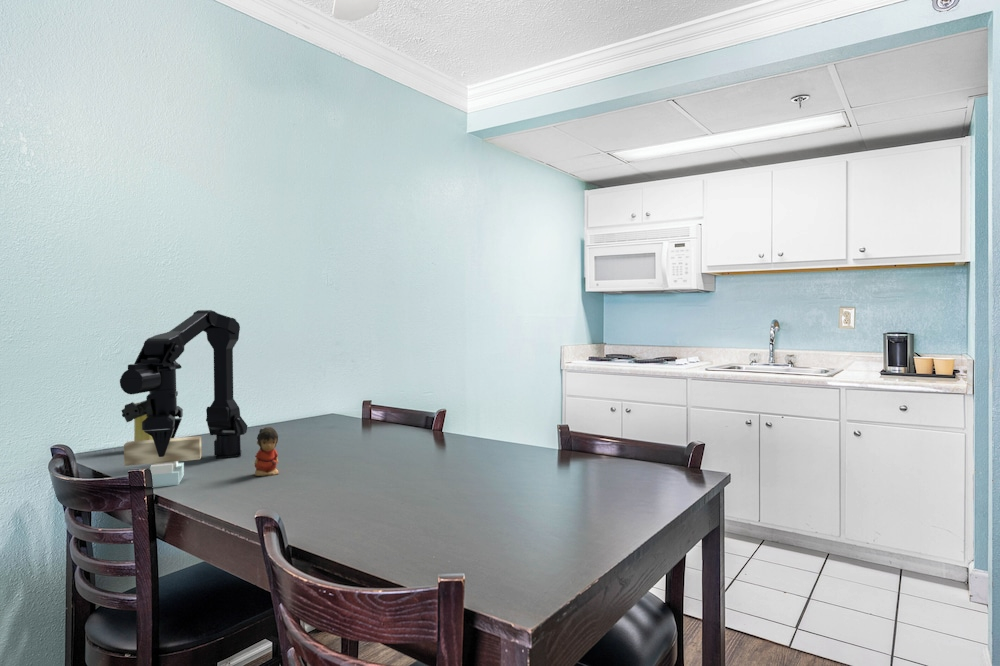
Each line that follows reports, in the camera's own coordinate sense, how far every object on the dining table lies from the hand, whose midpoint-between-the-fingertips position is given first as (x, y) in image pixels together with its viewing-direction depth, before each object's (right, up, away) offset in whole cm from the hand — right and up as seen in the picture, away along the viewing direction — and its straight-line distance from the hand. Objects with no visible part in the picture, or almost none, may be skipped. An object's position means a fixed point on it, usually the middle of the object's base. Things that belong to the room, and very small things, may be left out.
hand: (164, 452), depth 144 cm
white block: (0, -7, 0) cm, 7 cm away
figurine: (+23, -7, +6) cm, 24 cm away
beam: (0, -2, 0) cm, 2 cm away
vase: (-25, -6, +34) cm, 43 cm away
